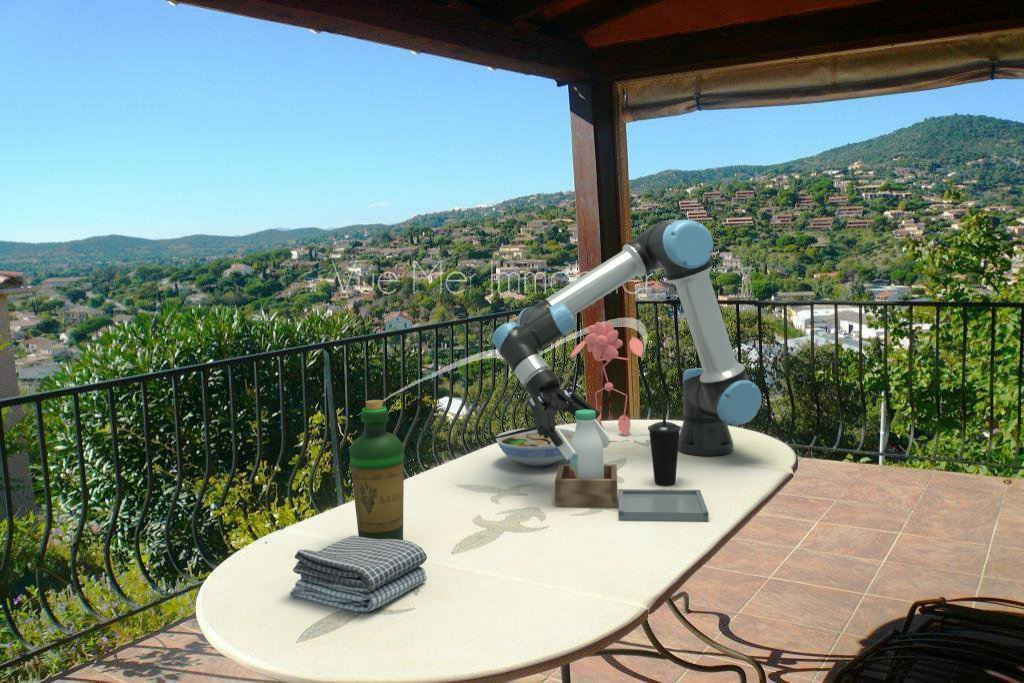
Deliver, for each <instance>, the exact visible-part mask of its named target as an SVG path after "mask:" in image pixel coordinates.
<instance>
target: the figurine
mask: <svg viewBox="0 0 1024 683" xmlns="http://www.w3.org/2000/svg"><path fill="white" fill-rule="evenodd" d="M588 330H589V332H590V333H588V334H587V335H586V336H584V340H583V341H581V342H580V343H579V344H577V346H576V347H575V348H574V349H573V351H572V353H571V355H570V359H573V358H574V357H575V356H577V355H578V354H579V353H580V352H581V351H582V349H583V348H584V347H585V345H587V348H586V350H587V352H588V353H592V356H593V359H594V360H595V361H596V362H602V361H605V362H606V363H605V364H603V366H602V370H603V373H604V376H605V380H606V382H605V384H604V387H603V388H601V389H599V390H597V391H595V393H594V396H595V398H594V399H595V409H596V410H597V411H599V410H598V409H599V408H598V399H597V397H598V396H597V393H600V392H601V391H603V390H605V391H606V392H611V391H615V392H617V393H620V394H622V395H624V396H625V403H624V410H623V414H622V415H620V416H619V418H618V422H617V426H618V429H619V431H620V432H621V433H622V434H623V435H624V437H626V436H627V434H629V433H630V429H631V425H632V422H631V420H630V418H629V417H628V415H626V410H627V403H628V395H627V394H626V393H624V392H621V391H619V390H618V389H616V388H614V384H613V383H612V382H609V380H608V375H607V372H606V371H607V370H606V369H605V367H606V366H607V365H608V364H609V363H610V362H611V361H612V360H613V359H617V360H618V359H619V360H622V361H623V360H625V361H628V362H629V361H630V360H631V357H632V353H633V355H636V356H637V357H639V358H642V356H643V353H644V344H643V342H642V341H641V340H640V339H638V338H637V337H635V336H631V339H630V340H629V347H630V348H629V349H630V350H629V355H628V357H627V358H626V357H620V356H619V351H618V349H620V348H621V347H622V346H623V345H624V343H623V340H621V339H619V338H618V337H619V331H618V330H617V329H614V325H613V322H612V321H608V322H606V324H605V325H604V324H603V323H602V322H600V321H596V322H595V325H594V324H591V325H589V326H588ZM597 420H598V421H599V422H600V424H601V425H602V426H603V423H602V421H601V420H602V412H600V415H599V417H598V418H597ZM625 441H627V442H628V441H630V440H629V439H625V440H623V442H625ZM614 442H616V443H617V440H612V442H611V443H614Z"/></svg>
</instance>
